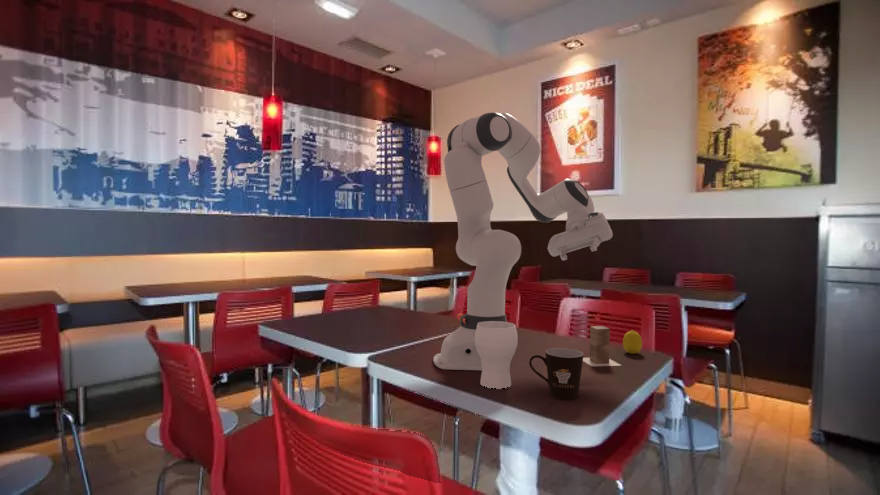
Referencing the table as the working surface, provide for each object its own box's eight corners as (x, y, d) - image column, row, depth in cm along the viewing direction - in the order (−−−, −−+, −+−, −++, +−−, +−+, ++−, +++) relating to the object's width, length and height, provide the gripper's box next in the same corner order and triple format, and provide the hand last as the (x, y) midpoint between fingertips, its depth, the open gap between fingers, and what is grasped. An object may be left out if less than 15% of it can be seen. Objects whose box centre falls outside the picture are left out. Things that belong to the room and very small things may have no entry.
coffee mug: (589, 395, 103) (590, 352, 103) (571, 404, 97) (572, 359, 97) (545, 383, 111) (546, 344, 111) (526, 391, 105) (527, 350, 105)
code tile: (591, 368, 125) (591, 366, 125) (578, 359, 134) (578, 357, 134) (621, 367, 126) (621, 365, 126) (606, 359, 135) (606, 356, 135)
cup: (524, 389, 107) (524, 327, 106) (482, 393, 104) (483, 329, 104) (507, 376, 117) (507, 319, 117) (469, 379, 115) (469, 321, 114)
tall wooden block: (596, 363, 128) (596, 328, 127) (589, 359, 132) (590, 326, 131) (609, 363, 128) (609, 328, 128) (602, 359, 132) (603, 326, 132)
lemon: (644, 357, 137) (645, 332, 137) (626, 357, 137) (627, 331, 137) (637, 353, 142) (637, 328, 142) (619, 352, 142) (620, 328, 142)
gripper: (546, 230, 149) (542, 256, 139) (606, 209, 138) (606, 236, 128) (554, 244, 152) (551, 270, 142) (614, 224, 141) (615, 252, 131)
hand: (578, 254), depth 135 cm, fingers open, 8 cm apart
